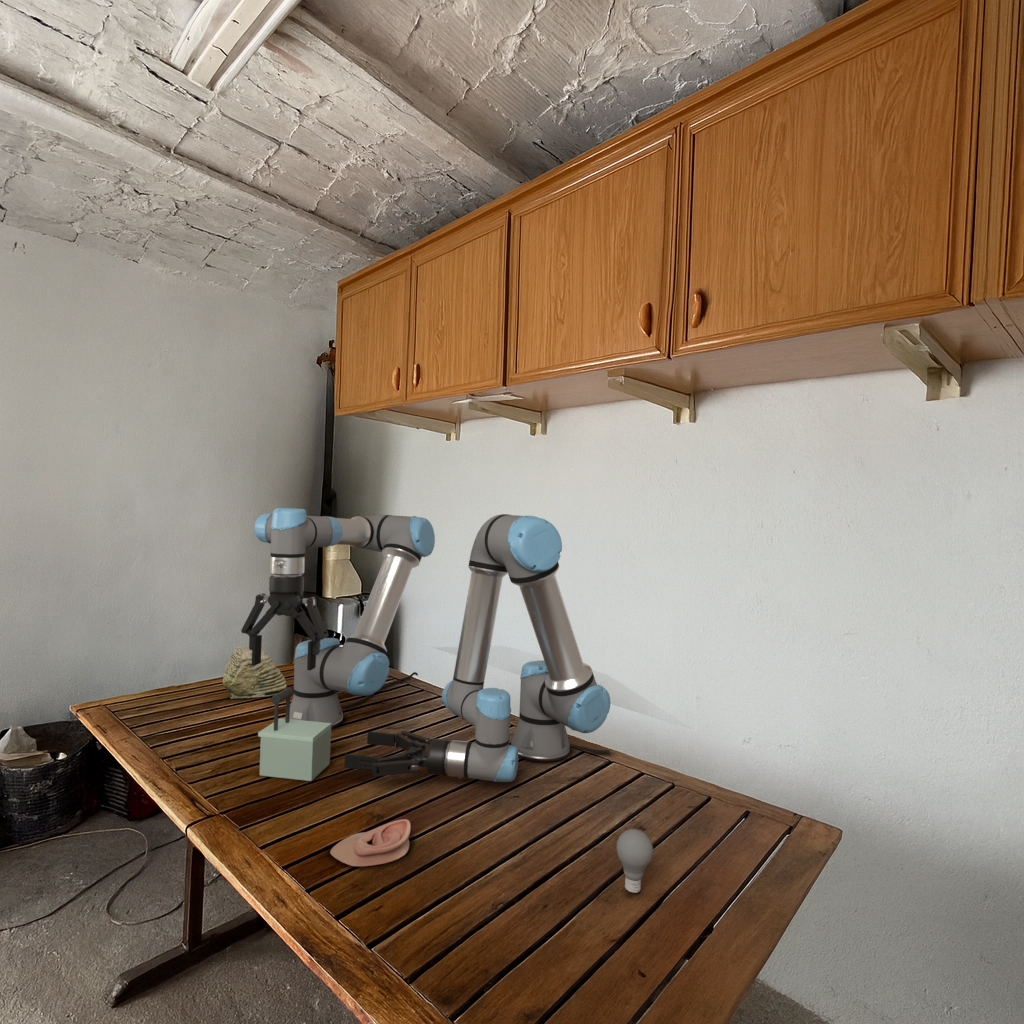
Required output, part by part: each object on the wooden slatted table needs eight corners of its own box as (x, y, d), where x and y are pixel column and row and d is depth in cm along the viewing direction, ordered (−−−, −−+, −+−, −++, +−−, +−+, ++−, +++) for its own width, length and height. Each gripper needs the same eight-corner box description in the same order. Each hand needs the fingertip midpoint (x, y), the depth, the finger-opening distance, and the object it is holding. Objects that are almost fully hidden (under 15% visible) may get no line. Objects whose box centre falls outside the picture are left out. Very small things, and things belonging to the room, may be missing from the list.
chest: (259, 775, 142) (260, 737, 142) (280, 758, 152) (282, 722, 152) (311, 781, 141) (312, 742, 141) (329, 763, 150) (331, 727, 150)
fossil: (218, 695, 195) (220, 647, 195) (278, 685, 208) (279, 640, 207) (228, 703, 189) (230, 653, 188) (289, 692, 201) (290, 645, 201)
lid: (258, 736, 142) (259, 696, 142) (279, 722, 152) (281, 684, 152) (312, 742, 141) (314, 701, 140) (331, 727, 150) (332, 688, 150)
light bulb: (610, 879, 108) (613, 822, 108) (644, 879, 109) (647, 822, 109) (619, 902, 102) (622, 840, 102) (655, 901, 103) (658, 840, 103)
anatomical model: (322, 838, 110) (352, 807, 121) (321, 861, 110) (351, 828, 121) (394, 850, 107) (417, 817, 119) (393, 873, 107) (416, 838, 119)
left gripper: (227, 573, 144) (224, 666, 144) (331, 580, 140) (327, 675, 141) (245, 570, 152) (242, 658, 152) (345, 576, 148) (341, 666, 148)
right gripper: (432, 800, 129) (333, 789, 131) (459, 752, 153) (375, 744, 156) (434, 764, 128) (335, 753, 131) (461, 722, 153) (377, 714, 156)
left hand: (283, 666), depth 146 cm, fingers open, 13 cm apart
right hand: (357, 748), depth 144 cm, fingers open, 13 cm apart
